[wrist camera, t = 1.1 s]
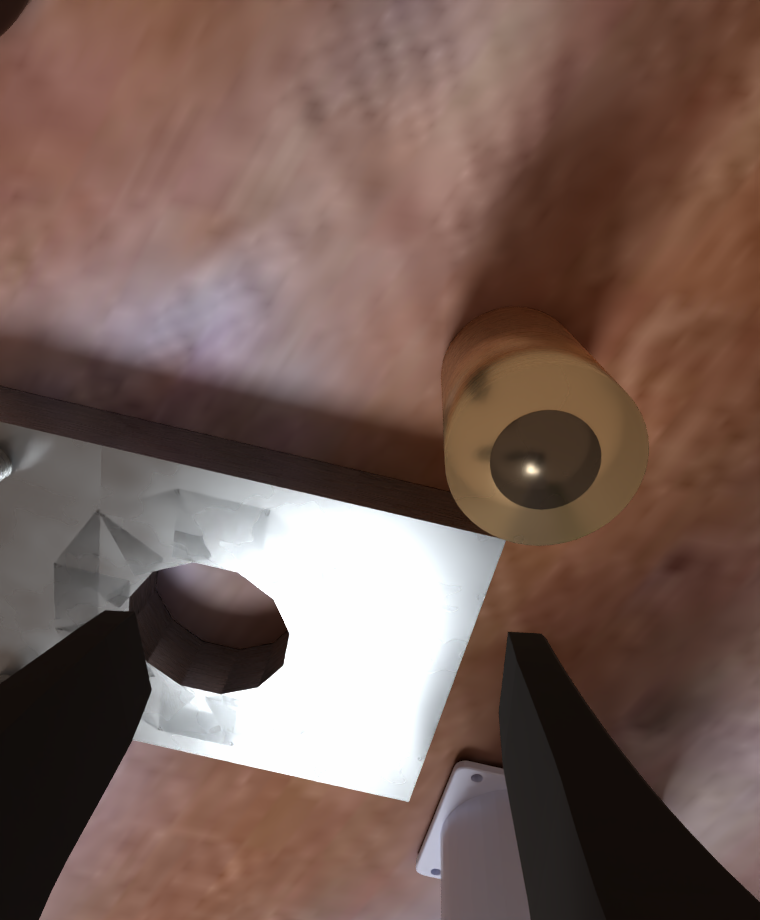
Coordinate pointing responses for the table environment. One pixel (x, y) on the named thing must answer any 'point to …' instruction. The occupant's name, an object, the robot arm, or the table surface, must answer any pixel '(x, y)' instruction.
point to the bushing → (536, 430)
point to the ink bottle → (10, 13)
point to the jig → (265, 565)
